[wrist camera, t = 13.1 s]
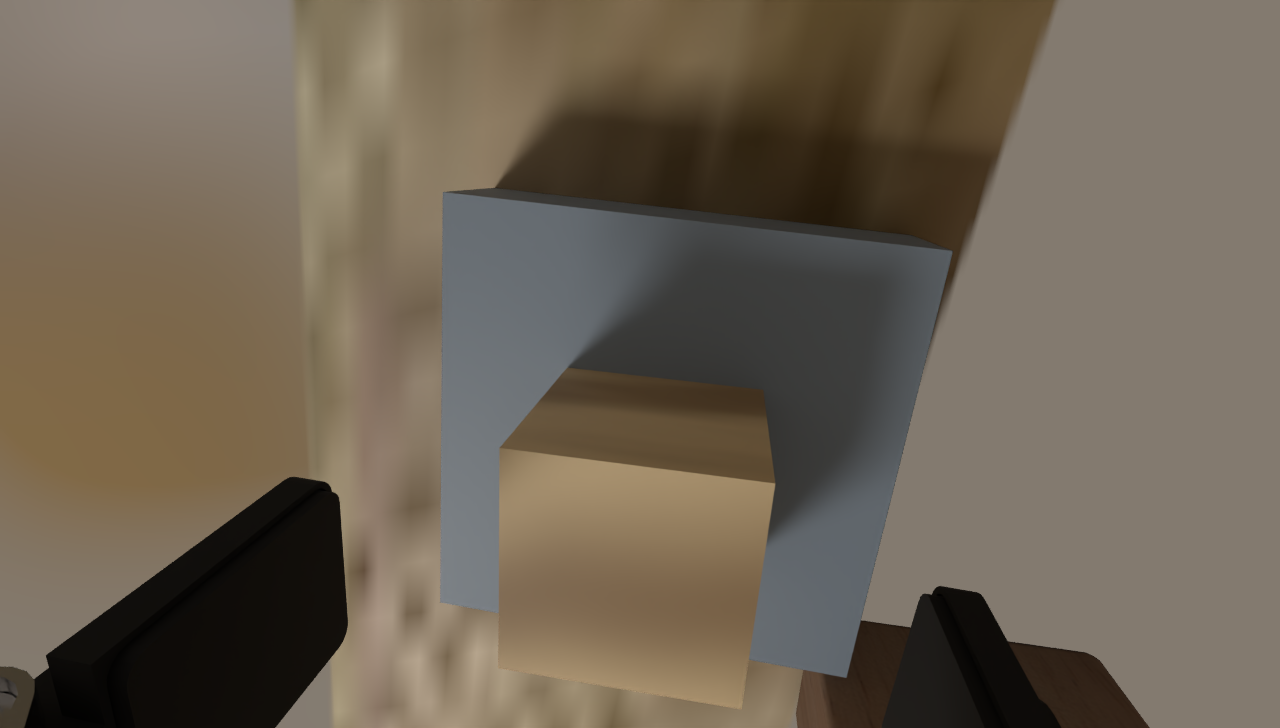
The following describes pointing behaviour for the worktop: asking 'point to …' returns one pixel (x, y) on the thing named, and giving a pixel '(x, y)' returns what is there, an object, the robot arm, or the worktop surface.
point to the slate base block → (693, 372)
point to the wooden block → (1063, 679)
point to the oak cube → (635, 534)
